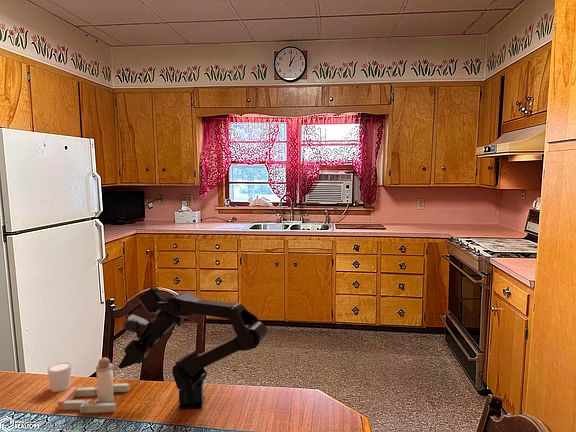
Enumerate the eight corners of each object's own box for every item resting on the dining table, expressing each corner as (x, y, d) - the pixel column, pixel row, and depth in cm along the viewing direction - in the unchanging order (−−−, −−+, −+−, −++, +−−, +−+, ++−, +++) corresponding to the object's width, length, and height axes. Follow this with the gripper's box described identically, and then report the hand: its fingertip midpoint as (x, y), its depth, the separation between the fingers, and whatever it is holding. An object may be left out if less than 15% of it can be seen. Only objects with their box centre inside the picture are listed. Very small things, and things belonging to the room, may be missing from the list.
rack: (129, 389, 131) (129, 381, 131) (114, 411, 119) (114, 403, 118) (75, 390, 131) (75, 383, 130) (54, 413, 118) (54, 405, 117)
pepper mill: (116, 396, 127) (114, 354, 126) (110, 404, 123) (108, 361, 121) (101, 396, 127) (99, 354, 126) (95, 404, 122) (93, 361, 121)
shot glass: (43, 389, 131) (42, 368, 131) (64, 380, 137) (63, 360, 137) (57, 394, 128) (55, 373, 128) (77, 385, 134) (76, 364, 134)
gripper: (149, 298, 132) (116, 331, 133) (130, 317, 114) (91, 356, 114) (174, 321, 133) (142, 354, 134) (159, 344, 115) (121, 382, 115)
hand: (124, 360), depth 124 cm, fingers open, 9 cm apart
